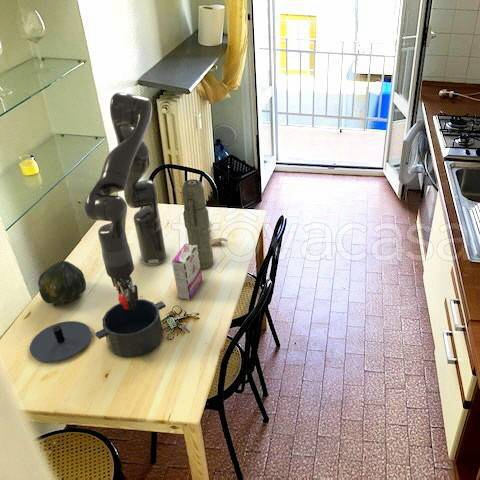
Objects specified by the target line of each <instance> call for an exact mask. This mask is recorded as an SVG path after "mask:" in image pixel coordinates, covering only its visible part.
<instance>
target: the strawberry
mask: <svg viewBox="0 0 480 480" xmlns="http://www.w3.org/2000/svg"><path fill="white" fill-rule="evenodd" d="M126 290H128V289H125V290H124V291H126ZM117 300H118V304H119V303H120V304H121V305H122V306H123V307H124V309H129V308H128V304H127V300H126V297H125V295H124V294H122V291H121V293H120V294H119V293H118V298H117ZM135 301H136V300H135Z"/></svg>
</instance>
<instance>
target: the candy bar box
mask: <svg viewBox="0 0 480 480" xmlns="http://www.w3.org/2000/svg"><path fill="white" fill-rule="evenodd" d="M171 264H172V265H171V266H172V269H173V275H174V280H175V285H176V292H177V297H178V299H181V300H188V301H191V300H192V299H193V297H194V295H195V294H196V293H197V291H198V290H199V288H200V286H201V284H202V283H203V277H202V276H203V275H202V274H203V273H202V270H201V268H200V260H199V253H198V247H197V245H192V244H189V243H184V245H183V246H182V247H181V249H180V250H179V251H178V252H177V254H176V255H175V256H174V258H173V259H172V260H171Z"/></svg>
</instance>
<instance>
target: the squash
mask: <svg viewBox="0 0 480 480" xmlns="http://www.w3.org/2000/svg"><path fill="white" fill-rule="evenodd" d="M86 281H87V280H86V277H85V275H84V273H83V271H82V269H80V268H79V266H78V267H77V266H76V265H75V264H73V263H71V262H70V261H67V260H61V261H57V262H55V263H53V264H52V265H50V266H49V267H48V268H46V269H45V270H44V271H43V272H42V273H41V274H40V275H39V277H38V280H37V285H38V292H39V295H40V298H41V299H42V301H43V302H44V303H46V304H54V305H57V306H60V305H63V304H64V303H65V302H67V303H70V302H73V301H74V300H75V299H77V298H79V297H80V296H81V295H82V294H84V293H85V291H86V290H87V282H86Z"/></svg>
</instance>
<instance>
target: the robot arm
mask: <svg viewBox="0 0 480 480" xmlns="http://www.w3.org/2000/svg"><path fill="white" fill-rule="evenodd" d="M109 114H110V119H111V123H112V126H113V130H114V134H115V137H116V143H117V146H115V147H114V148H113V149H111V151H110V152H109V153H108V154H107V156H106V158H105V160H104V163H103V166H102V168H101V172H100V177H99V178H98V180H97V181H96V183H95V184H94V186H93V187H92V189H91V190H90V192H89V193H88V195H87V197H86V199H85V201H84V204H83V211H84V214H85V216H86V217H87V218H88V219H89V220H91V221H100V222H109V223H106V224H103V225H101V226H100V227H99V228H98V231H97V235H98V240H99V243H100V248H101V255H102V259H103V264H104V268H105V271H106V274H107V276H108V277H109V278H110V279H111V282H112V285H113V287H114V288H115V289H116V291H117V293H118V295H119V294H120V293H121V291H122V294H124V295H125V297H126V300H127V304H128V308H129V309H130V310H133V309H135V308H136V307H137V306H136V302H135V300H137V299H139V291H138V290H139V289H138V286H137V284H133V278H132V276H131V275H132V274H133V272H134V271H135V265H134V261H133V256H132V251H131V248H130V245H129V241H128V238H127V232H126V224H127V223H126V222H127V221H126V220H127V214H128V207H129V208H131V209H139V208H140V209H139V210H138V211H136V212H135V213H134V215H133V224H134V229H135V233H136V238H137V242H138V247H139V252H140V257H141V258H140V259H141V263H142V264H143V265H146V266H157V265H161V264H163V263H164V262H165V261H166V260H167V259H168V256H167V252H166V245H165V239H164V234H163V228H162V221H161V217H160V210H159V203H158V194H157V193H158V192H157V188H156V184H155V183H154V181H153V180H152V179H145V180H141V179H142V178H143V176H144V175H145V174H146V173H147V171H148V169H149V167H150V163H151V159H150V150H149V147H148V145H147V144H146V142H145V141H144V138H145V136H146V134H147V131H148V129H149V127H150V124H151V121H152V117H153V103H152V101H151V99H149V98H148V97H144V96H141V95H136V94H132V93H127V92H116V93H113V95H112V96H111V98H110V103H109ZM120 192H123V195H124V198H123V197H121V196H120V195H116V194H117V193H120ZM115 193H116V194H115ZM113 194H115V195H113ZM125 289H128V290H126V291H124V290H125Z"/></svg>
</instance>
